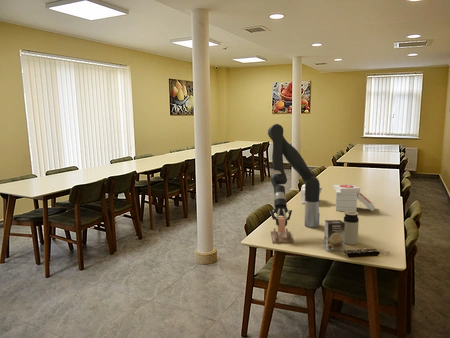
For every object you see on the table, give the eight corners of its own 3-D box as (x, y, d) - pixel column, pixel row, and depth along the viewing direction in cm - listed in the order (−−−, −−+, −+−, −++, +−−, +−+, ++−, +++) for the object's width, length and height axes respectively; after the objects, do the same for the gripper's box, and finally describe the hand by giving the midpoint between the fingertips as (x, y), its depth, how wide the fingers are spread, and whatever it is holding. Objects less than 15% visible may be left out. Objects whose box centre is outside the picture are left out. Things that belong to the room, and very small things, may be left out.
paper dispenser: (375, 213, 257) (376, 190, 254) (333, 211, 266) (333, 188, 263) (372, 207, 275) (373, 185, 272) (333, 205, 284) (333, 183, 281)
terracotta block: (283, 229, 211) (284, 217, 210) (284, 232, 207) (285, 219, 206) (277, 229, 211) (277, 217, 210) (278, 231, 207) (278, 219, 206)
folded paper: (301, 184, 285) (322, 186, 281) (302, 179, 308) (322, 181, 304) (299, 204, 288) (320, 207, 284) (300, 197, 311) (320, 200, 307)
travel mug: (360, 244, 198) (361, 214, 195) (346, 245, 197) (347, 214, 194) (353, 239, 205) (355, 210, 203) (340, 240, 205) (341, 211, 202)
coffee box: (327, 252, 188) (328, 223, 186) (323, 247, 194) (324, 220, 192) (344, 251, 188) (345, 223, 186) (339, 247, 195) (340, 219, 192)
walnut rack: (289, 232, 219) (289, 228, 219) (293, 243, 202) (293, 238, 201) (270, 232, 220) (270, 228, 220) (272, 243, 203) (272, 238, 202)
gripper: (269, 197, 214) (270, 222, 204) (292, 198, 214) (294, 223, 203) (268, 203, 220) (269, 228, 210) (290, 204, 220) (292, 228, 210)
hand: (281, 225), depth 207 cm, fingers closed on terracotta block, 4 cm apart
